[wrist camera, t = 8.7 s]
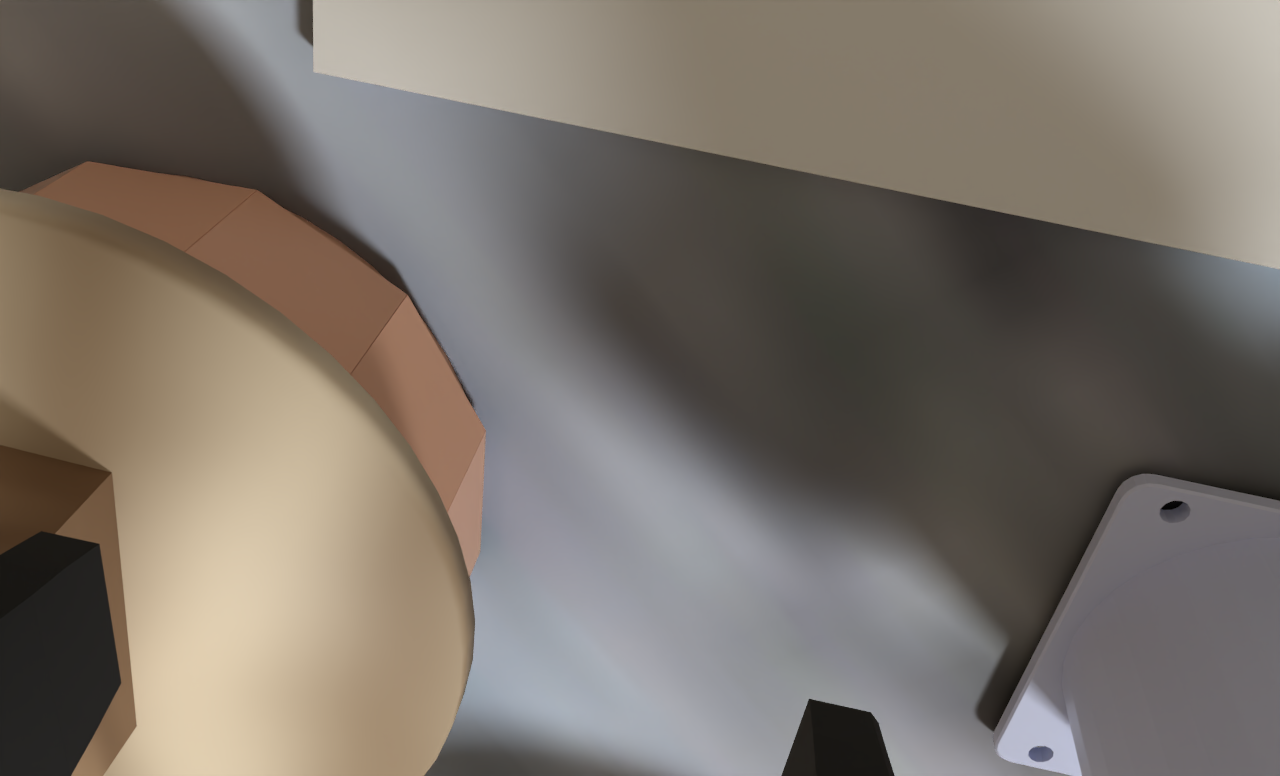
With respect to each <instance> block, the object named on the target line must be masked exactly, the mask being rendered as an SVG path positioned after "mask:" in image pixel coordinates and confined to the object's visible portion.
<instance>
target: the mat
mask: <svg viewBox="0 0 1280 776" xmlns="http://www.w3.org/2000/svg"><path fill="white" fill-rule="evenodd" d="M313 69H314V72H317V73H321V74H326V75H331V76H336V77H341V78H346V79H351V80H356V81H361V82H366V83H370V84H375V85H380V86H385V87H390V88H395V89H400V90H405V91H410V92H415V93H419V94H424V95H429V96H434V97H439V98H444V99H449V100H454V101H459V102H464V103H468V104H473V105H478V106H483V107H488V108H493V109H498V110H503V111H508V112H513V113H517V114H522V115H527V116H532V117H537V118H542V119H547V120H552V121H557V122H561V123H566V124H571V125H576V126H581V127H586V128H591V129H596V130H601V131H606V132H610V133H615V134H620V135H625V136H630V137H635V138H640V139H645V140H650V141H655V142H659V143H664V144H669V145H674V146H679V147H684V148H689V149H694V150H699V151H704V152H708V153H713V154H718V155H723V156H728V157H733V158H738V159H743V160H748V161H753V162H757V163H762V164H767V165H772V166H777V167H782V168H787V169H792V170H797V171H801V172H806V173H811V174H816V175H821V176H826V177H831V178H836V179H841V180H846V181H850V182H855V183H860V184H865V185H870V186H875V187H880V188H885V189H890V190H895V191H899V192H904V193H909V194H914V195H919V196H924V197H929V198H934V199H939V200H944V201H948V202H953V203H958V204H963V205H968V206H973V207H978V208H983V209H988V210H992V211H997V212H1002V213H1007V214H1012V215H1017V216H1022V217H1027V218H1032V219H1037V220H1041V221H1046V222H1051V223H1056V224H1061V225H1066V226H1071V227H1076V228H1081V229H1086V230H1090V231H1095V232H1100V233H1105V234H1110V235H1115V236H1120V237H1125V238H1130V239H1135V240H1139V241H1144V242H1149V243H1154V244H1159V245H1164V246H1169V247H1174V248H1179V249H1184V250H1188V251H1193V252H1198V253H1203V254H1208V255H1213V256H1218V257H1223V258H1228V259H1232V260H1237V261H1242V262H1247V263H1252V264H1257V265H1262V266H1267V267H1272V268H1277V269H1280V0H313Z"/></svg>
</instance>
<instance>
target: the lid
mask: <svg viewBox="0 0 1280 776" xmlns="http://www.w3.org/2000/svg"><path fill="white" fill-rule="evenodd" d="M41 531H43V532H48V533H52V534H57V535H62V536H66V537H71V538H75V539H80V540H84V541H89V542H94V543H98V544H100V550H101V556H102V563H103V569H104V575H105V582H106V588H107V594H108V601H109V607H110V613H111V620H112V626H113V633H114V639H115V645H116V652H117V658H118V664H119V671H120V677H121V685H120V687H119V689H118V691H117V692H116V694H115V696H114V698H113V700H112V702H111V704H110V706H109V708H108V710H107V711H106V713H105V715H104V717H103V719H102V721H101V723H100V725H99V727H98V729H97V730H96V732H95V734H94V736H93V738H92V740H91V741H90V743H89V745H88V747H87V748H86V750H85V752H84V754H83V756H82V757H81V759H80V761H79V763H78V764H77V766H76V768H75V770H74V771H73V773H72V775H71V776H424V775H425V774H426V772H427V771H428V770H429V769H430V767H431V766H432V765H433V763H434V762H435V761H436V759H437V757H438V755H439V753H440V751H441V749H442V747H443V745H444V743H445V740H446V738H447V736H448V734H449V732H450V730H451V728H452V725H453V722H454V720H455V717H456V714H457V711H458V709H459V706H460V703H461V701H462V698H463V695H464V692H465V688H466V684H467V680H468V676H469V672H470V668H471V664H472V660H473V647H474V631H475V617H474V608H473V600H472V591H471V582H470V578H469V574H468V571H467V567H466V563H465V560H464V556H463V553H462V549H461V546H460V542H459V538H458V536H457V534H456V531H455V529H454V527H453V524H452V522H451V520H450V518H449V515H448V513H447V511H446V509H445V506H444V504H443V502H442V499H441V497H440V495H439V493H438V491H437V489H436V488H435V486H434V484H433V483H432V481H431V479H430V478H429V476H428V474H427V473H426V471H425V469H424V468H423V466H422V464H421V463H420V461H419V459H418V458H417V456H416V454H415V453H414V451H413V449H412V448H411V446H410V445H409V443H408V442H407V441H406V440H405V438H404V437H403V436H402V434H401V433H400V432H399V431H398V429H397V428H396V427H395V425H394V424H393V423H392V422H391V420H390V419H389V418H388V416H387V415H386V414H385V413H384V411H383V410H382V409H381V407H380V406H379V405H378V404H377V402H376V401H375V400H374V399H373V398H372V397H371V396H370V394H369V393H368V392H367V391H366V390H365V389H364V388H363V387H362V386H361V385H360V384H359V383H358V382H357V381H356V380H355V379H354V378H353V377H352V376H351V375H350V374H349V373H348V372H347V371H346V370H345V369H344V368H343V367H342V366H341V364H340V363H339V362H338V361H337V360H336V359H335V358H334V357H333V356H332V355H331V354H330V353H328V352H327V351H326V350H325V349H324V348H322V347H321V346H320V345H319V344H318V343H317V342H315V341H314V340H313V339H312V338H311V337H309V336H308V335H307V334H306V333H305V332H303V331H302V330H301V329H300V328H299V327H298V326H296V325H295V324H294V323H293V322H292V321H290V320H289V319H288V318H287V317H286V316H284V315H283V314H282V313H281V312H279V311H278V310H276V309H275V308H274V307H272V306H271V305H269V304H268V303H266V302H265V301H263V300H262V299H260V298H259V297H257V296H256V295H255V294H253V293H252V292H250V291H249V290H247V289H246V288H244V287H243V286H241V285H240V284H238V283H237V282H236V281H234V280H233V279H231V278H230V277H228V276H227V275H225V274H224V273H222V272H220V271H218V270H216V269H214V268H213V267H211V266H209V265H207V264H205V263H203V262H202V261H200V260H198V259H196V258H194V257H193V256H191V255H189V254H187V253H185V252H183V251H182V250H180V249H178V248H176V247H174V246H172V245H171V244H169V243H167V242H165V241H163V240H160V239H158V238H156V237H153V236H151V235H149V234H146V233H144V232H142V231H139V230H137V229H134V228H132V227H130V226H127V225H125V224H123V223H120V222H118V221H116V220H113V219H111V218H109V217H106V216H104V215H101V214H98V213H94V212H91V211H88V210H84V209H81V208H78V207H75V206H71V205H68V204H65V203H61V202H58V201H55V200H52V199H48V198H45V197H42V196H38V195H32V194H27V193H21V192H16V191H11V190H5V189H0V555H1V554H2V553H4V552H6V551H7V550H9V549H11V548H13V547H14V546H16V545H18V544H19V543H21V542H23V541H25V540H26V539H28V538H30V537H32V536H34V535H35V534H37V533H39V532H41Z"/></svg>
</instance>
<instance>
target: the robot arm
mask: <svg viewBox="0 0 1280 776" xmlns="http://www.w3.org/2000/svg"><path fill="white" fill-rule="evenodd" d="M1171 501H1182V502H1183V503H1182V504H1181V505H1180V506H1179V507H1177V508H1175V509H1172V510H1163V509H1161V508H1162V507H1163V506H1164V505H1165V504H1166V503H1169V502H1171ZM120 685H121V677H120V671H119V664H118V658H117V652H116V645H115V639H114V633H113V626H112V620H111V613H110V607H109V601H108V594H107V588H106V582H105V575H104V569H103V563H102V556H101V550H100V544H98V543H94V542H89V541H84V540H80V539H75V538H71V537H66V536H62V535H57V534H52V533H48V532H43V531H41V532H39V533H37V534H35V535H34V536H32V537H30V538H28V539H26V540H25V541H23V542H21V543H19V544H18V545H16V546H14V547H13V548H11V549H9V550H7V551H6V552H4V553H2V554H1V555H0V776H71V775H72V773H73V771H74V770H75V768H76V766H77V764H78V763H79V761H80V759H81V757H82V756H83V754H84V752H85V750H86V748H87V747H88V745H89V743H90V741H91V740H92V738H93V736H94V734H95V732H96V730H97V729H98V727H99V725H100V723H101V721H102V719H103V717H104V715H105V713H106V711H107V710H108V708H109V706H110V704H111V702H112V700H113V698H114V696H115V694H116V692H117V691H118V689H119V687H120ZM993 742H994V748H995V750H996V753H997V754H998V755H999V756H1000V757H1001V758H1002V759H1005V760H1007V761H1010V762H1014V763H1018V764H1023V765H1027V766H1032V767H1036V768H1040V769H1045V770H1049V771H1054V772H1058V773H1063V774H1067V775H1072V776H1280V501H1278V500H1274V499H1269V498H1264V497H1260V496H1255V495H1250V494H1245V493H1241V492H1236V491H1231V490H1227V489H1222V488H1217V487H1212V486H1208V485H1203V484H1198V483H1194V482H1189V481H1184V480H1179V479H1175V478H1170V477H1165V476H1161V475H1156V474H1140V475H1136V476H1132V477H1130V478H1129V479H1127V480H1125V481H1124V482H1123V483H1122V484H1121V485H1120V486H1119V488H1118V489H1117V491H1116V493H1115V495H1114V497H1113V498H1112V500H1111V502H1110V504H1109V506H1108V508H1107V510H1106V512H1105V514H1104V516H1103V518H1102V520H1101V522H1100V524H1099V526H1098V528H1097V530H1096V532H1095V534H1094V536H1093V538H1092V540H1091V542H1090V544H1089V546H1088V548H1087V550H1086V552H1085V554H1084V555H1083V557H1082V559H1081V561H1080V563H1079V565H1078V567H1077V569H1076V571H1075V573H1074V575H1073V577H1072V579H1071V581H1070V583H1069V585H1068V587H1067V589H1066V591H1065V593H1064V595H1063V597H1062V599H1061V601H1060V603H1059V605H1058V607H1057V609H1056V611H1055V613H1054V614H1053V616H1052V618H1051V620H1050V622H1049V624H1048V626H1047V628H1046V630H1045V632H1044V634H1043V636H1042V638H1041V640H1040V642H1039V644H1038V646H1037V648H1036V650H1035V652H1034V654H1033V656H1032V658H1031V660H1030V662H1029V664H1028V666H1027V668H1026V670H1025V671H1024V673H1023V675H1022V677H1021V679H1020V681H1019V683H1018V685H1017V687H1016V689H1015V691H1014V693H1013V695H1012V697H1011V699H1010V701H1009V703H1008V705H1007V707H1006V709H1005V711H1004V713H1003V715H1002V717H1001V719H1000V721H999V723H998V725H997V727H996V729H995V730H994V734H993ZM1036 746H1044V747H1041V748H1037V747H1036ZM782 776H894V773H893V770H892V767H891V764H890V760H889V757H888V754H887V751H886V747H885V744H884V741H883V737H882V734H881V730H880V727H879V723H878V722H877V720H876V719H875V718H874V716H873V715H872V713H871V712H866V711H862V710H857V709H853V708H848V707H844V706H839V705H834V704H830V703H825V702H821V701H816V700H812V699H809V701H808V704H807V706H806V709H805V712H804V715H803V718H802V720H801V723H800V726H799V729H798V731H797V734H796V737H795V740H794V743H793V745H792V748H791V751H790V754H789V757H788V759H787V762H786V765H785V768H784V771H783V773H782Z"/></svg>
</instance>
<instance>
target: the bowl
mask: <svg viewBox="0 0 1280 776" xmlns="http://www.w3.org/2000/svg"><path fill="white" fill-rule="evenodd" d="M19 192H21V193H27V194H32V195H38V196H42V197H45V198H48V199H52V200H55V201H58V202H61V203H65V204H68V205H71V206H75V207H78V208H81V209H84V210H88V211H91V212H94V213H98V214H101V215H104V216H106V217H109V218H111V219H113V220H116V221H118V222H120V223H123V224H125V225H127V226H130V227H132V228H134V229H137V230H139V231H142V232H144V233H146V234H149V235H151V236H153V237H156V238H158V239H160V240H163V241H165V242H167V243H169V244H171V245H172V246H174V247H176V248H178V249H180V250H182V251H183V252H185V253H187V254H189V255H191V256H193V257H194V258H196V259H198V260H200V261H202V262H203V263H205V264H207V265H209V266H211V267H213V268H214V269H216V270H218V271H220V272H222V273H224V274H225V275H227V276H228V277H230V278H231V279H233V280H234V281H236V282H237V283H238V284H240V285H241V286H243V287H244V288H246V289H247V290H249V291H250V292H252V293H253V294H255V295H256V296H257V297H259V298H260V299H262V300H263V301H265V302H266V303H268V304H269V305H271V306H272V307H274V308H275V309H276V310H278V311H279V312H281V313H282V314H283V315H284V316H286V317H287V318H288V319H289V320H290V321H292V322H293V323H294V324H295V325H296V326H298V327H299V328H300V329H301V330H302V331H303V332H305V333H306V334H307V335H308V336H309V337H311V338H312V339H313V340H314V341H315V342H317V343H318V344H319V345H320V346H321V347H322V348H324V349H325V350H326V351H327V352H328V353H330V354H331V355H332V356H333V357H334V358H335V359H336V360H337V361H338V362H339V363H340V364H341V366H342V367H343V368H344V369H345V370H346V371H347V372H348V373H349V374H350V375H351V376H352V377H353V378H354V379H355V380H356V381H357V382H358V383H359V384H360V385H361V386H362V387H363V388H364V389H365V390H366V391H367V392H368V393H369V394H370V396H371V397H372V398H373V399H374V400H375V401H376V402H377V404H378V405H379V406H380V407H381V409H382V410H383V411H384V413H385V414H386V415H387V416H388V418H389V419H390V420H391V422H392V423H393V424H394V425H395V427H396V428H397V429H398V431H399V432H400V433H401V434H402V436H403V437H404V438H405V440H406V441H407V442H408V443H409V445H410V446H411V448H412V449H413V451H414V453H415V454H416V456H417V458H418V459H419V461H420V463H421V464H422V466H423V468H424V469H425V471H426V473H427V474H428V476H429V478H430V479H431V481H432V483H433V484H434V486H435V488H436V489H437V491H438V493H439V495H440V497H441V499H442V502H443V504H444V506H445V509H446V511H447V513H448V515H449V518H450V520H451V522H452V524H453V527H454V529H455V531H456V534H457V536H458V538H459V542H460V546H461V549H462V553H463V556H464V560H465V563H466V567H467V571H468V574H469V577H470V575H471V573H472V570H473V568H474V565H475V563H476V560H477V558H478V556H479V553H480V546H481V524H482V502H483V481H484V459H485V437H486V430H485V428H484V427H483V425H482V423H481V421H480V420H479V418H478V416H477V414H476V413H475V411H474V409H473V408H472V406H471V404H470V402H469V401H468V399H467V397H466V395H465V394H464V391H463V388H462V386H461V384H460V382H459V380H458V378H457V376H456V374H455V371H454V369H453V367H452V365H451V363H450V361H449V359H448V357H447V355H446V354H445V352H444V351H443V349H442V348H441V346H440V345H439V343H438V342H437V340H436V339H435V337H434V335H433V334H432V332H431V331H430V329H429V328H428V326H427V325H426V323H425V322H424V321H423V320H422V319H421V317H420V315H419V314H418V312H417V310H416V308H415V307H414V305H413V303H412V302H411V300H410V298H409V296H408V295H407V294H406V293H405V292H403V291H402V290H400V289H399V288H397V287H396V286H395V285H393V284H392V283H390V282H389V281H387V280H386V279H385V278H384V277H383V276H382V275H381V274H380V273H379V272H378V271H377V270H376V269H375V268H374V267H373V266H372V265H370V264H369V263H368V262H366V261H365V260H364V259H363V258H361V257H360V256H359V255H357V254H356V253H355V252H354V251H352V250H351V249H350V248H348V247H347V246H346V245H345V244H343V243H342V242H341V241H339V240H338V239H336V238H335V237H333V236H332V235H330V234H328V233H327V232H325V231H324V230H322V229H320V228H319V227H317V226H316V225H314V224H312V223H311V222H309V221H308V220H306V219H304V218H303V217H301V216H299V215H297V214H294V213H292V212H290V211H288V210H286V209H284V208H283V207H281V206H280V205H278V204H277V203H275V202H274V201H273V200H271V199H270V198H268V197H267V196H265V195H264V194H262V193H261V192H260V191H258V190H255V189H249V188H243V187H237V186H231V185H226V184H220V183H214V182H210V181H205V180H201V179H197V178H192V177H188V176H181V175H171V174H162V173H155V172H149V171H143V170H137V169H131V168H125V167H119V166H113V165H107V164H102V163H96V162H90V161H86V162H84V163H82V164H80V165H77V166H75V167H73V168H71V169H69V170H66V171H64V172H62V173H60V174H57V175H55V176H53V177H51V178H48V179H46V180H44V181H42V182H39V183H37V184H35V185H33V186H31V187H28V188H26V189H24V190H22V191H19Z"/></svg>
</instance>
